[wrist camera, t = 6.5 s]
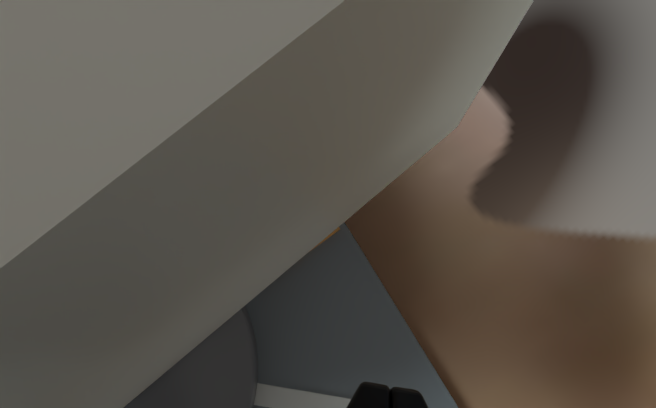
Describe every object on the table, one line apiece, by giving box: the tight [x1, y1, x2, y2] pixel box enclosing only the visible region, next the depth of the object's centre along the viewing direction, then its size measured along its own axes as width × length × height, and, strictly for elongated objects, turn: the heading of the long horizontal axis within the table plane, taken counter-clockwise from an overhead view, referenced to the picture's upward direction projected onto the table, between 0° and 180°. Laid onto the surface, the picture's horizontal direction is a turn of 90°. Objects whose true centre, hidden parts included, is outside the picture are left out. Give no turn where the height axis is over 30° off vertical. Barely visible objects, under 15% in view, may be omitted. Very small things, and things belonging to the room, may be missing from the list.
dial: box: [0, 0, 534, 408], centre depth 9 cm, size 14×7×11 cm, turn 130°
